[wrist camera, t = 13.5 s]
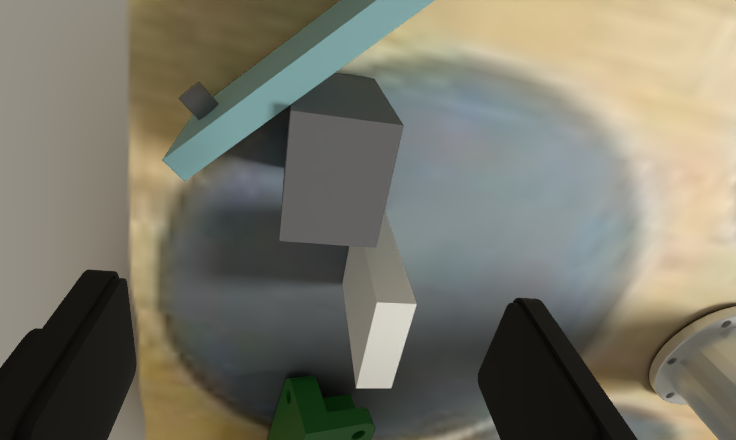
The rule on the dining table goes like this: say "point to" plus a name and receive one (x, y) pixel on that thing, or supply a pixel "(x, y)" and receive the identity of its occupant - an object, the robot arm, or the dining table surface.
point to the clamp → (318, 414)
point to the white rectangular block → (377, 309)
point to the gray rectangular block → (339, 163)
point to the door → (281, 78)
